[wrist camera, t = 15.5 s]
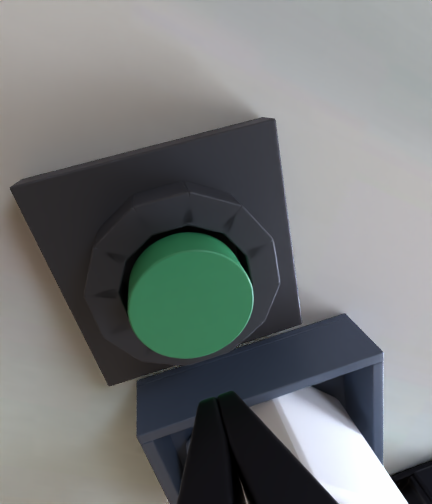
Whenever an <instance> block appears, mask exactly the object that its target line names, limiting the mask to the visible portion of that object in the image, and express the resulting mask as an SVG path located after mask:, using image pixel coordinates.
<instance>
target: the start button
mask: <svg viewBox="0 0 432 504" xmlns="http://www.w3.org/2000/svg"><path fill="white" fill-rule="evenodd" d="M253 303H254V294H253V288H252V284H251V281H250V279H249V277H248V275H247V273H246V272H245V270H244V269H243V267H242V266H241V264H240V262H239V261H238V259H237V258H236V256H235V255H234V253H233V252H232V251H231V249H230V248H229V247H228V246H227V245H225V244H224V243H223V242H221V241H220V240H218V239H217V238H214V237H212V236H210V235H206V234H203V233H196V232H183V233H177V234H172V235H169V236H166V237H164V238H162V239H160V240H158V241H156V242H155V243H153V244H152V245H150V246H149V247H148V248H147V249H145V250H144V251H143V253H142V254H141V255H140V256H139V257H138V259H137V260H136V262H135V264H134V266H133V268H132V271H131V274H130V278H129V289H128V318H129V322H130V325H131V328H132V330H133V332H134V333H135V335H136V336H137V338H138V339H139V340H140V341H141V342H142V343H143V344H144V345H145V346H147V347H148V348H149V349H151V350H153V351H154V352H156V353H159V354H161V355H164V356H167V357H172V358H180V359H189V358H197V357H202V356H206V355H209V354H211V353H214V352H216V351H218V350H220V349H222V348H224V347H225V346H227V345H228V344H229V343H231V342H232V341H233V340H234V339H235V338H236V337H237V336H238V335H239V334H240V333H241V332H242V330H243V329H244V328H245V326H246V324H247V323H248V320H249V318H250V316H251V313H252V309H253Z"/></svg>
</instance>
